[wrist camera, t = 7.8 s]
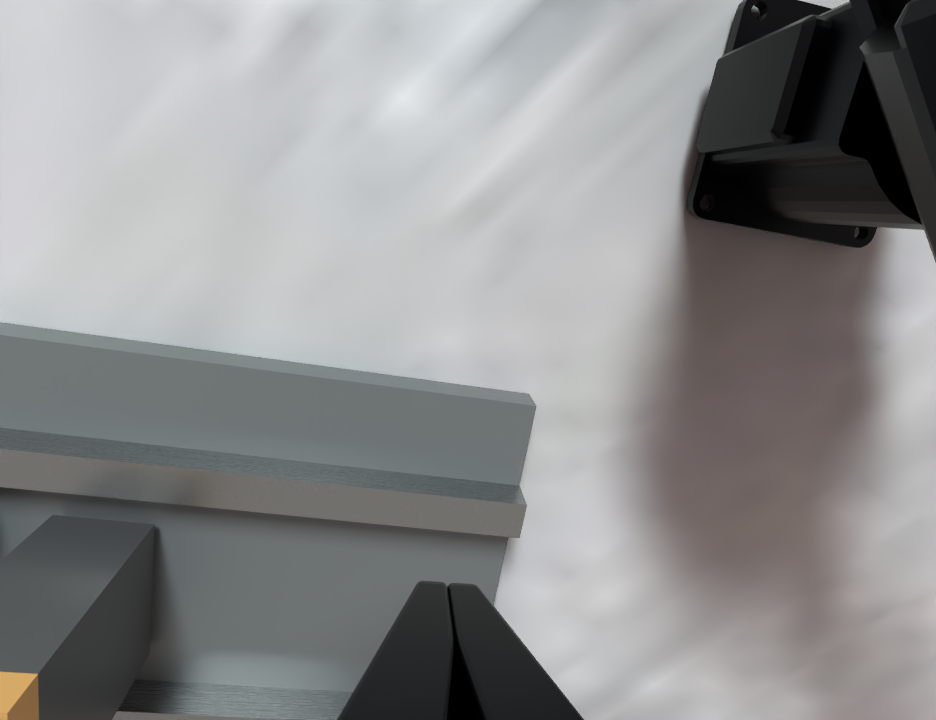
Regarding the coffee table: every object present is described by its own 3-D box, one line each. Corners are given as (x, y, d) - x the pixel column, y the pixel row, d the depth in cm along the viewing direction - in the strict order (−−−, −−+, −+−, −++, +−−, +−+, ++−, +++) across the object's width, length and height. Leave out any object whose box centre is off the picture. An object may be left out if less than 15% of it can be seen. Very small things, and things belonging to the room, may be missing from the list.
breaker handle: (154, 524, 18) (7, 713, 12) (149, 653, 20) (14, 891, 13) (52, 514, 18) (-162, 705, 11) (54, 648, 19) (-138, 891, 12)
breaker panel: (528, 393, 20) (549, 426, 17) (453, 753, 24) (459, 829, 21) (-44, 316, 17) (-134, 339, 15) (-22, 733, 21) (-89, 816, 19)
